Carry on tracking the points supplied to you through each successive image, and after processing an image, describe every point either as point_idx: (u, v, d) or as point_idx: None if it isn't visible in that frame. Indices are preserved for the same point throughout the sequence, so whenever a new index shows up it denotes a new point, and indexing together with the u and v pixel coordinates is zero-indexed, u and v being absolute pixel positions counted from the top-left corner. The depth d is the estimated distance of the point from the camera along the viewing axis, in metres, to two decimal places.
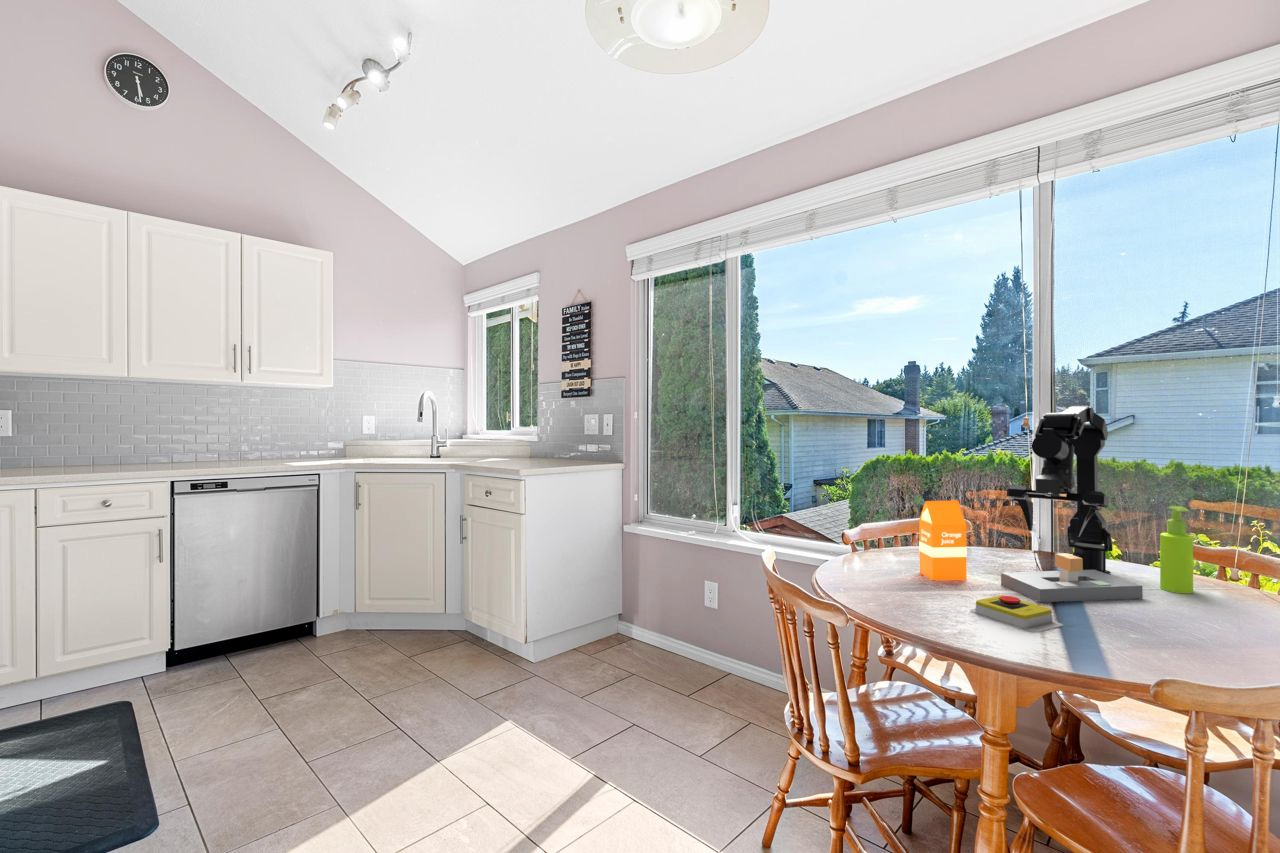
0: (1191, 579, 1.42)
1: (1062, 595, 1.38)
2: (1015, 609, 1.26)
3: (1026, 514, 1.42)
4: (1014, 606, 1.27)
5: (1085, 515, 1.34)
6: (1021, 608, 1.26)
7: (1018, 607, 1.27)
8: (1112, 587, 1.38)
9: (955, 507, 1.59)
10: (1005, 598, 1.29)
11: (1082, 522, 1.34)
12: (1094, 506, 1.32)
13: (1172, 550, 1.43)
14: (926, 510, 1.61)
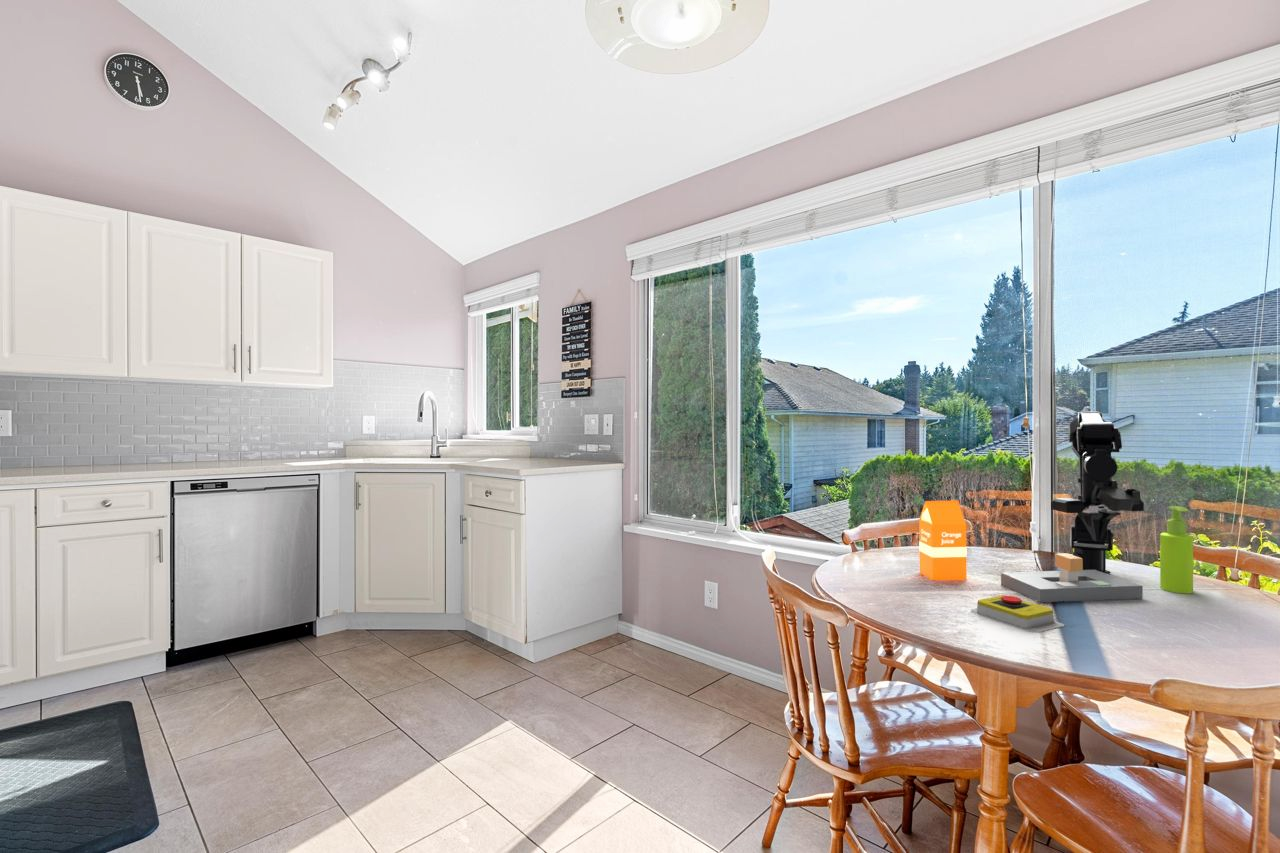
0: (1191, 579, 1.42)
1: (1062, 595, 1.38)
2: (1016, 609, 1.26)
3: (1096, 526, 1.44)
4: (1016, 606, 1.27)
5: (1108, 521, 1.44)
6: (1023, 608, 1.26)
7: (1019, 607, 1.27)
8: (1112, 587, 1.38)
9: (955, 507, 1.59)
10: (1007, 598, 1.29)
11: (1105, 528, 1.44)
12: None
13: (1172, 550, 1.43)
14: (926, 510, 1.61)
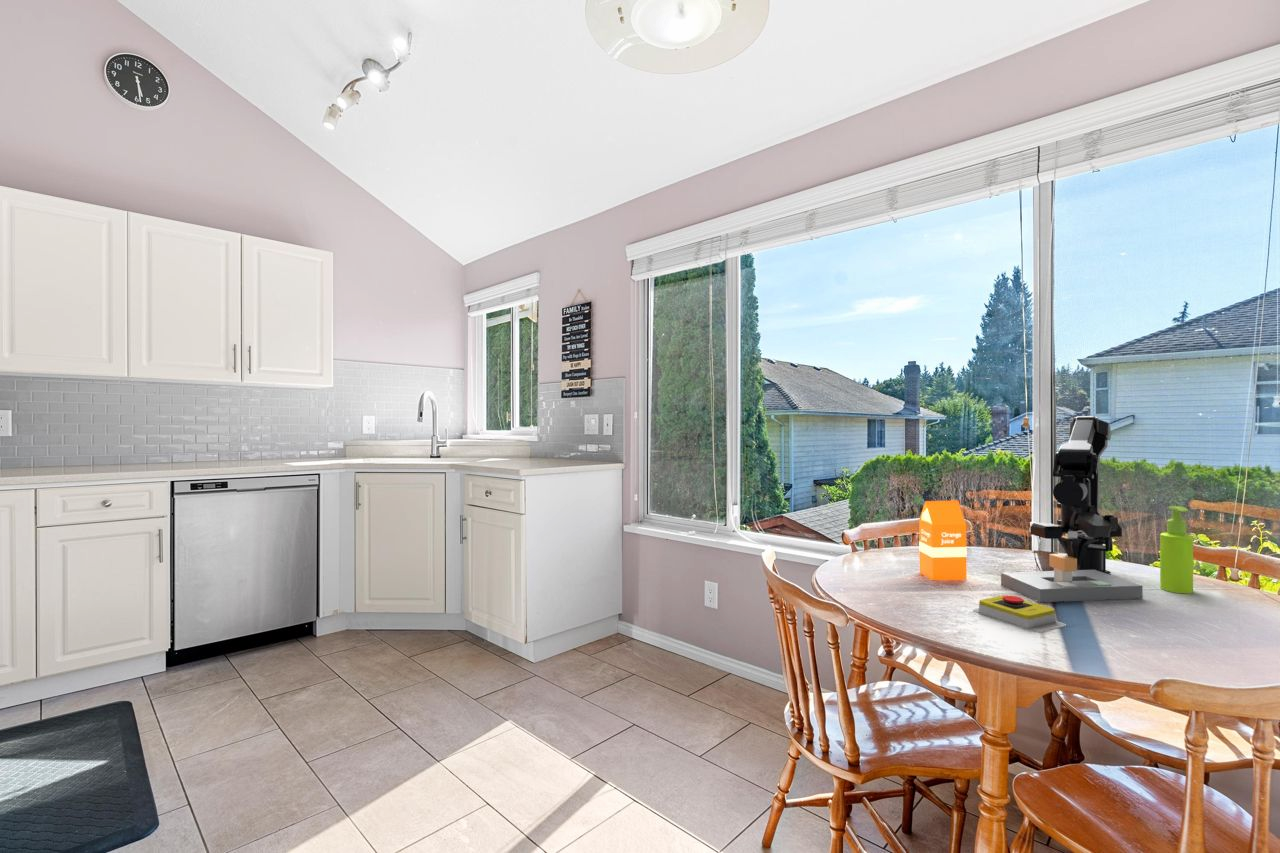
0: (1191, 579, 1.42)
1: (1062, 595, 1.38)
2: (1018, 609, 1.26)
3: (1075, 551, 1.44)
4: (1017, 606, 1.27)
5: (1086, 547, 1.43)
6: (1025, 608, 1.26)
7: (1021, 607, 1.27)
8: (1112, 587, 1.38)
9: (955, 507, 1.59)
10: (1008, 598, 1.29)
11: (1083, 553, 1.44)
12: (1098, 539, 1.42)
13: (1172, 550, 1.43)
14: (926, 510, 1.61)
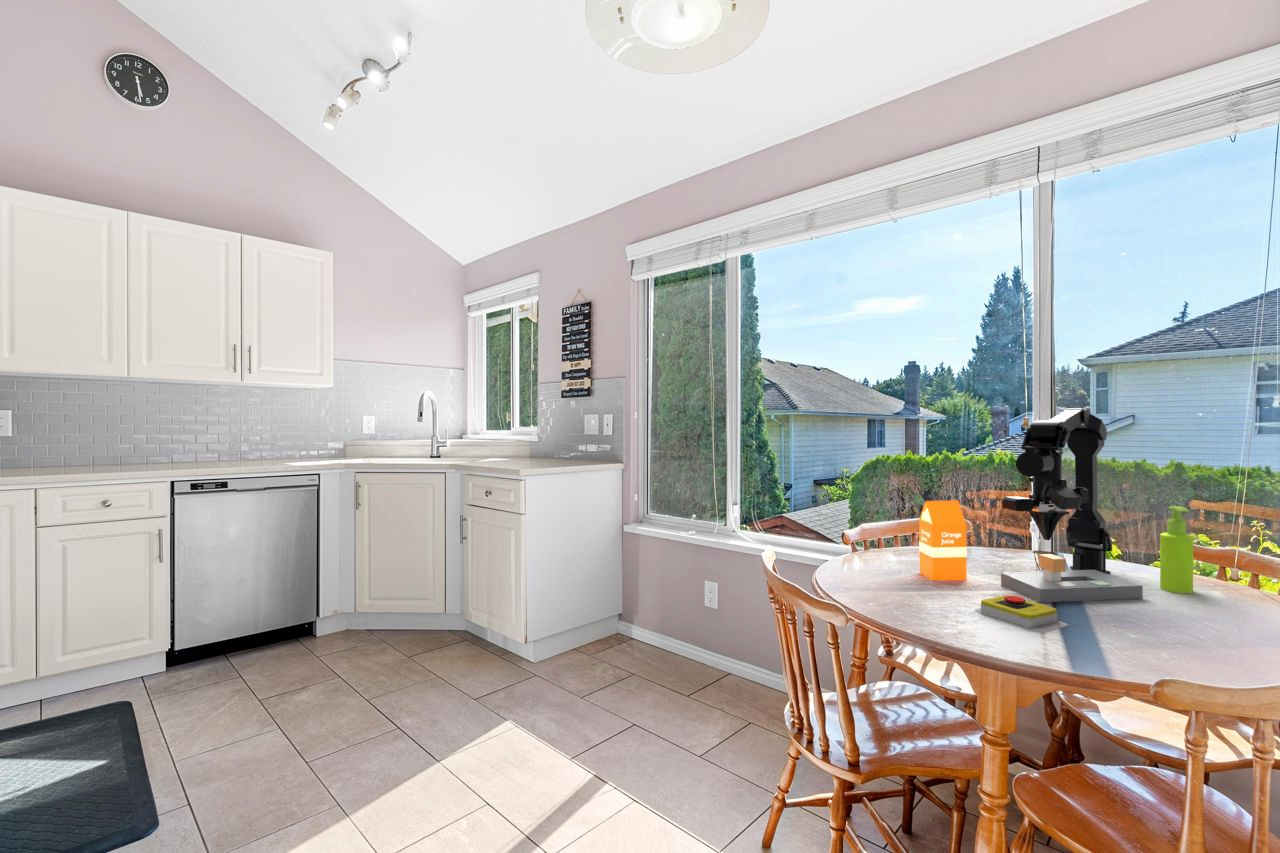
0: (1191, 579, 1.42)
1: (1062, 595, 1.38)
2: (1020, 609, 1.26)
3: (1046, 525, 1.43)
4: (1019, 606, 1.27)
5: (1057, 521, 1.43)
6: (1027, 608, 1.26)
7: (1023, 606, 1.27)
8: (1112, 587, 1.38)
9: (955, 507, 1.59)
10: (1010, 598, 1.29)
11: (1054, 527, 1.43)
12: None
13: (1172, 550, 1.43)
14: (926, 510, 1.61)
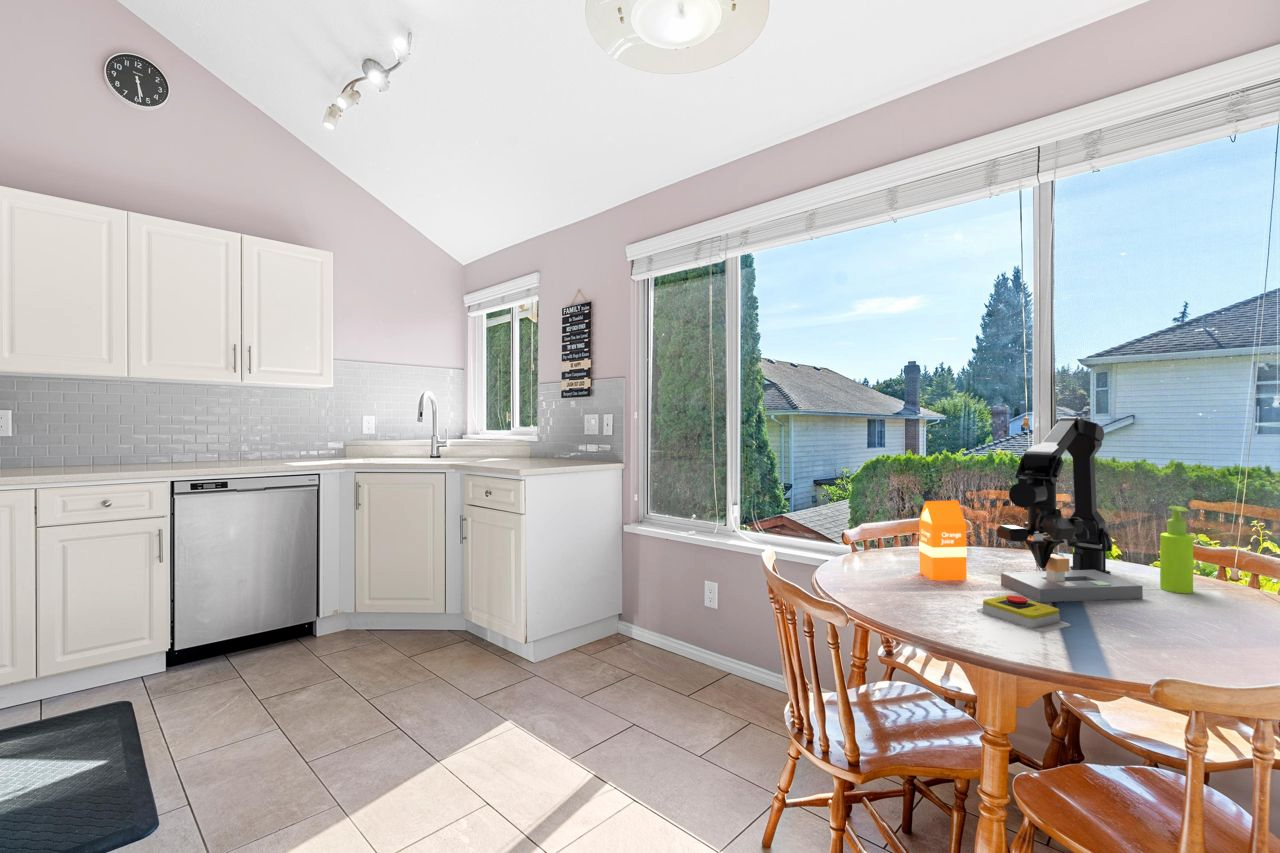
0: (1191, 579, 1.42)
1: (1062, 595, 1.38)
2: (1022, 609, 1.26)
3: (1042, 554, 1.44)
4: (1021, 606, 1.27)
5: (1052, 549, 1.43)
6: (1029, 608, 1.26)
7: (1025, 606, 1.27)
8: (1112, 587, 1.38)
9: (955, 507, 1.59)
10: (1012, 598, 1.29)
11: (1049, 555, 1.44)
12: (1063, 542, 1.42)
13: (1172, 550, 1.43)
14: (926, 510, 1.61)
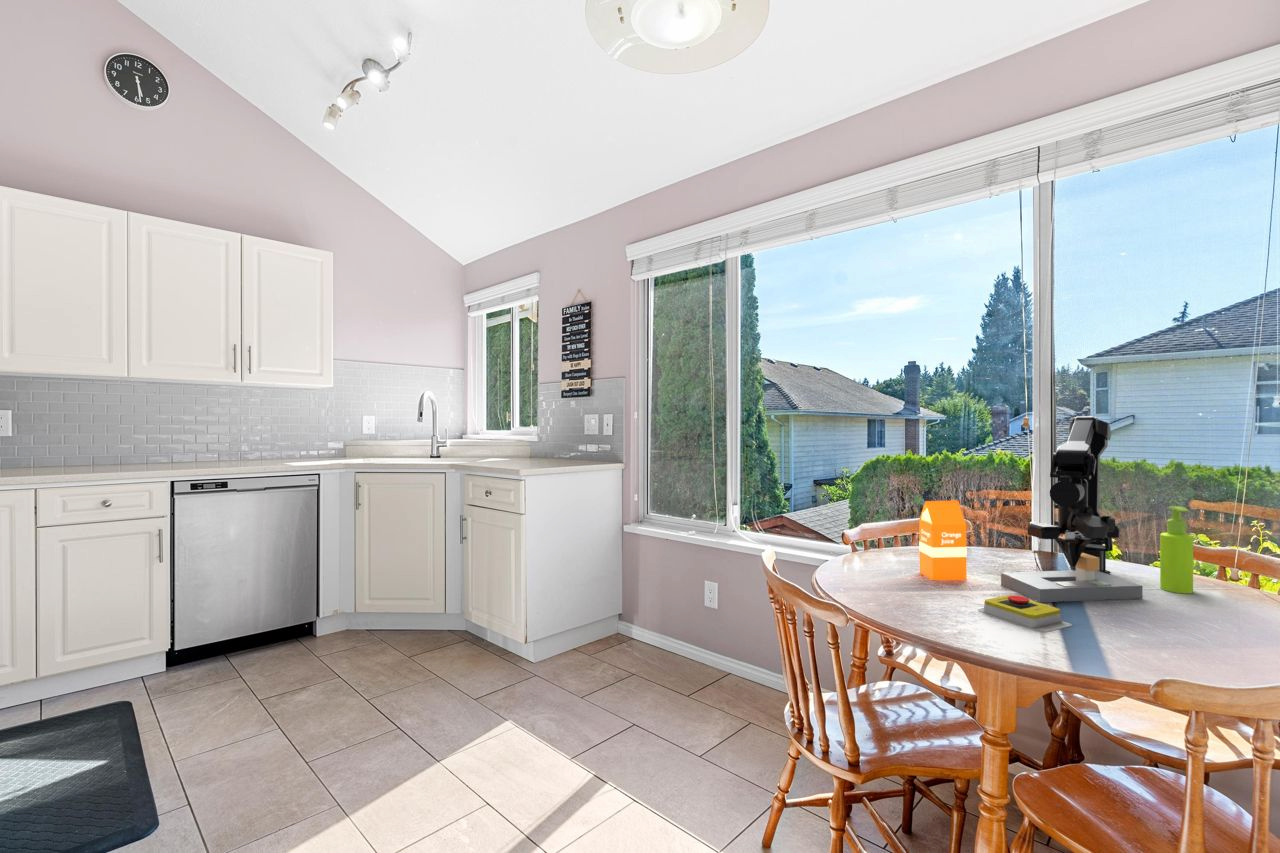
0: (1191, 579, 1.42)
1: (1062, 595, 1.38)
2: (1024, 609, 1.26)
3: (1073, 552, 1.44)
4: (1023, 606, 1.27)
5: (1083, 548, 1.44)
6: (1030, 608, 1.26)
7: (1027, 606, 1.27)
8: (1112, 587, 1.38)
9: (955, 507, 1.59)
10: (1014, 598, 1.29)
11: (1080, 554, 1.44)
12: (1094, 540, 1.42)
13: (1172, 550, 1.43)
14: (926, 510, 1.61)
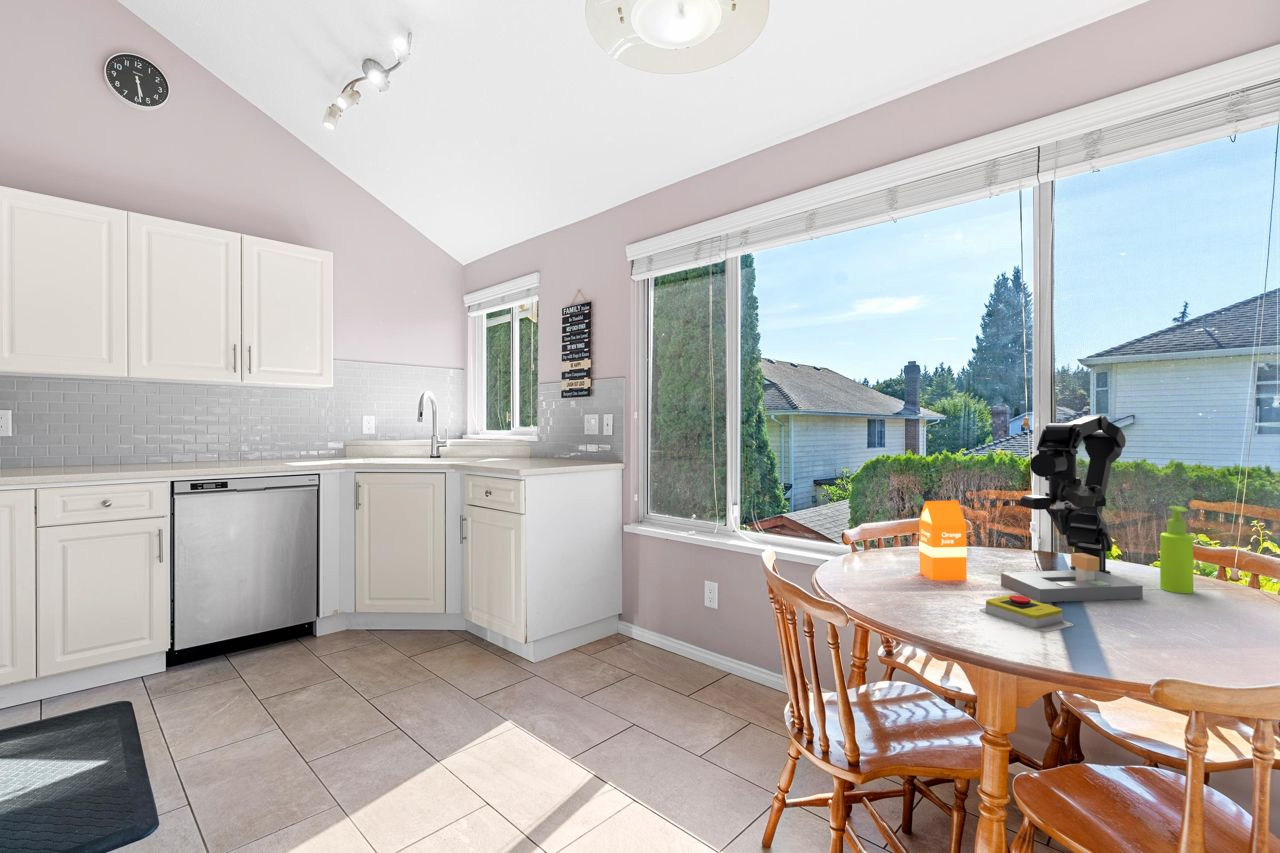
0: (1191, 579, 1.42)
1: (1062, 595, 1.38)
2: (1025, 609, 1.26)
3: (1063, 521, 1.52)
4: (1024, 606, 1.27)
5: (1073, 517, 1.52)
6: (1032, 608, 1.26)
7: (1028, 606, 1.27)
8: (1112, 587, 1.38)
9: (955, 507, 1.59)
10: (1015, 598, 1.29)
11: (1070, 523, 1.52)
12: (1083, 509, 1.51)
13: (1172, 550, 1.43)
14: (926, 510, 1.61)
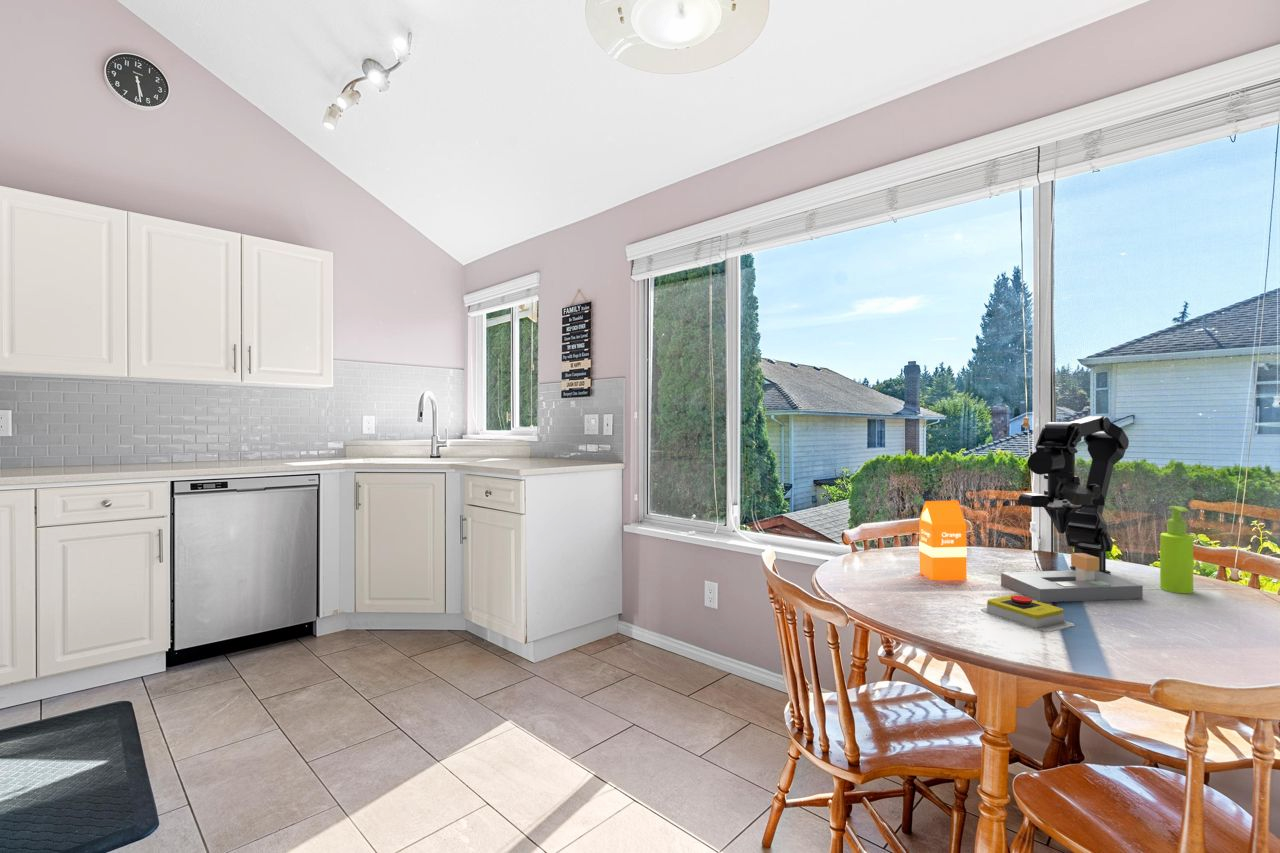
0: (1191, 579, 1.42)
1: (1062, 595, 1.38)
2: (1027, 609, 1.26)
3: (1061, 519, 1.53)
4: (1026, 606, 1.27)
5: (1071, 515, 1.53)
6: (1033, 608, 1.26)
7: (1030, 606, 1.27)
8: (1112, 587, 1.38)
9: (955, 507, 1.59)
10: (1017, 598, 1.29)
11: (1068, 521, 1.53)
12: (1082, 508, 1.51)
13: (1172, 550, 1.43)
14: (926, 510, 1.61)
